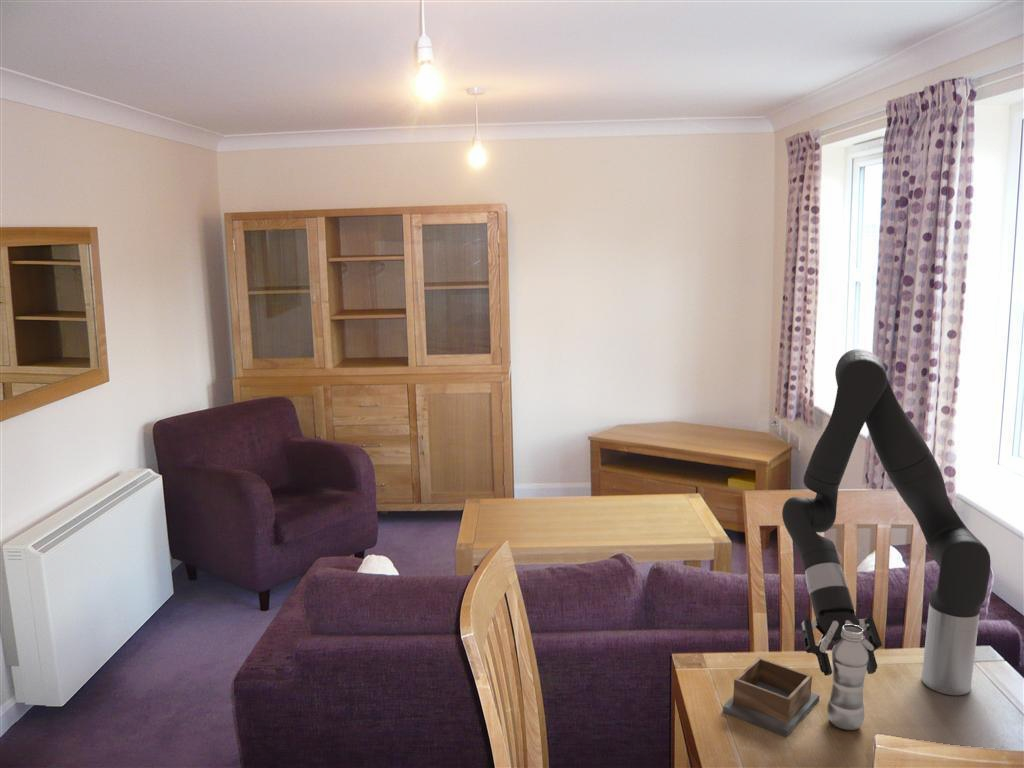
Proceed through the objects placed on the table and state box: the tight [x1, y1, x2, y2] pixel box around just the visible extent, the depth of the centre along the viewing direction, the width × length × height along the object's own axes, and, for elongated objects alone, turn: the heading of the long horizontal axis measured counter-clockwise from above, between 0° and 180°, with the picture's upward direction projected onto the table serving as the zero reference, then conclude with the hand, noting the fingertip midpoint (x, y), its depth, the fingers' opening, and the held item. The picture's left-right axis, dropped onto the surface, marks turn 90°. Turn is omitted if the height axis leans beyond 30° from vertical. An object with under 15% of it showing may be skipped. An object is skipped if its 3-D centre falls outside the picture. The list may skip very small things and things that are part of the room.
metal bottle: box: [826, 624, 869, 731], centre depth 164 cm, size 6×7×20 cm
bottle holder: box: [722, 656, 820, 738], centre depth 172 cm, size 16×13×6 cm
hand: (850, 673), depth 163 cm, fingers open, 8 cm apart
